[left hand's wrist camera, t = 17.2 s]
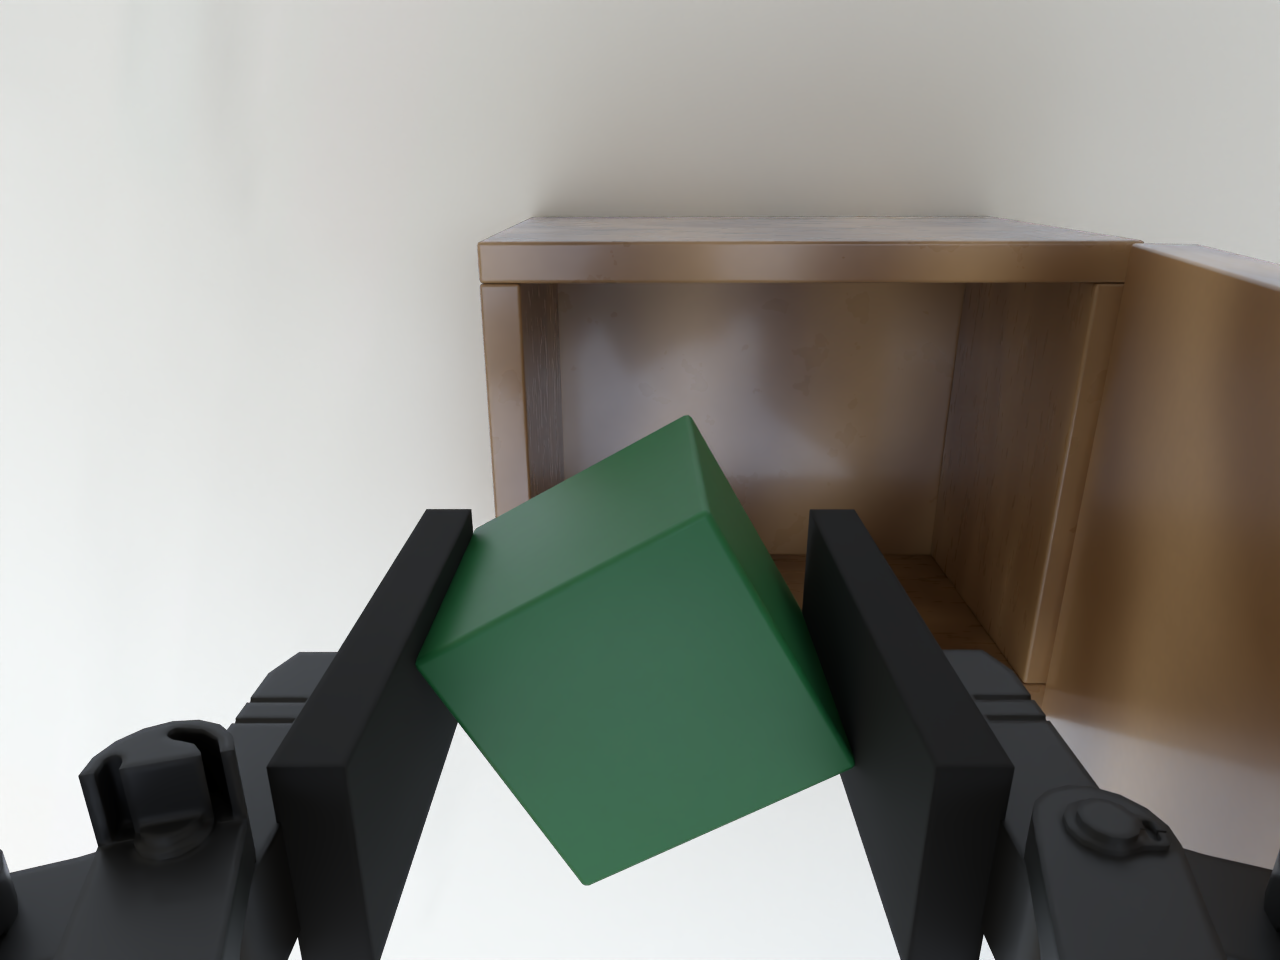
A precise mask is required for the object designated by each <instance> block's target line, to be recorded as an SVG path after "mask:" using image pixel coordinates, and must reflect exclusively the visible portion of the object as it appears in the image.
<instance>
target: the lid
mask: <svg viewBox="0 0 1280 960" xmlns="http://www.w3.org/2000/svg"><path fill="white" fill-rule="evenodd" d="M1041 709H1042V711H1043V712H1044V714H1045V715H1046V720H1047V721H1050V722H1051V723H1052V724H1053V726H1054V727H1055V728H1056V730H1057V731H1058V732H1059V734H1060V735H1061V737H1062V738H1063V739H1064V741H1065V742H1066V743H1067V745H1068V746H1069V747H1070V749H1071V750H1072V751H1073V753H1074V754H1075V756H1076V757H1077V758H1078V760H1079V761H1080V762H1081V764H1082V765H1083V766H1084V768H1085V769H1086V770H1087V772H1088V773H1089V775H1090V776H1091V777H1092V779H1093V780H1094V781H1095V783H1096V784H1097V785H1098V787H1099V788H1100V789H1103V790H1106V791H1110V792H1113V793H1116V794H1120V795H1122V796H1124V797H1126V798H1128V799H1130V800H1132V801H1134V802H1136V803H1138V804H1140V805H1142V806H1144V807H1146V808H1147V809H1149V810H1150V811H1151V812H1152V813H1153V814H1155V815H1156V816H1157V817H1158V818H1160V819H1161V820H1162V821H1163V822H1164V823H1166V824H1167V825H1168V826H1169V827H1170V829H1171V830H1172V832H1173V833H1174V834H1175V836H1176V837H1177V839H1178V840H1179V842H1180V843H1181V845H1182V847H1183V848H1185V849H1188V850H1192V851H1195V852H1198V853H1202V854H1205V855H1209V856H1214V857H1218V858H1223V859H1227V860H1232V861H1236V862H1240V863H1245V864H1249V865H1254V866H1258V867H1262V868H1267V869H1271V870H1273V867H1274V864H1275V861H1276V858H1277V855H1278V852H1279V849H1280V265H1279V264H1275V263H1271V262H1267V261H1263V260H1259V259H1255V258H1251V257H1247V256H1243V255H1239V254H1234V253H1230V252H1226V251H1222V250H1218V249H1214V248H1210V247H1206V246H1202V245H1198V244H1148V243H1135V244H1133V245H1132V246H1131V252H1130V257H1129V262H1128V267H1127V272H1126V277H1125V282H1124V287H1123V293H1122V298H1121V303H1120V308H1119V313H1118V318H1117V323H1116V328H1115V334H1114V339H1113V344H1112V349H1111V354H1110V359H1109V364H1108V369H1107V375H1106V380H1105V385H1104V390H1103V395H1102V400H1101V405H1100V410H1099V416H1098V421H1097V426H1096V431H1095V436H1094V441H1093V446H1092V451H1091V457H1090V462H1089V467H1088V472H1087V477H1086V482H1085V487H1084V493H1083V498H1082V503H1081V508H1080V513H1079V518H1078V523H1077V528H1076V534H1075V539H1074V544H1073V549H1072V554H1071V559H1070V564H1069V569H1068V575H1067V580H1066V585H1065V590H1064V595H1063V600H1062V605H1061V610H1060V616H1059V621H1058V626H1057V631H1056V636H1055V641H1054V646H1053V651H1052V657H1051V662H1050V667H1049V672H1048V677H1047V682H1046V687H1045V692H1044V698H1043V703H1042V708H1041Z"/></svg>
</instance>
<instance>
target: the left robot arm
mask: <svg viewBox="0 0 1280 960" xmlns="http://www.w3.org/2000/svg"><path fill="white" fill-rule="evenodd" d="M472 535H473V526H472V512H471V509H426V511H425V513H424V514H423V516H422V517H421V519H420V521H419V522H418V524H417V525H416V527H415V529H414V530H413V532H412V533H411V535H410V537H409V538H408V540H407V541H406V543H405V545H404V546H403V548H402V550H401V551H400V553H399V554H398V556H397V558H396V559H395V561H394V562H393V564H392V566H391V567H390V569H389V570H388V572H387V574H386V575H385V577H384V578H383V580H382V582H381V583H380V585H379V586H378V588H377V590H376V591H375V593H374V595H373V596H372V598H371V599H370V601H369V603H368V604H367V606H366V607H365V609H364V611H363V612H362V614H361V615H360V617H359V619H358V620H357V622H356V623H355V625H354V627H353V628H352V630H351V631H350V633H349V635H348V636H347V638H346V640H345V641H344V643H343V644H342V646H341V648H340V649H339V651H338V652H299V653H297V654H296V655H294V656H293V657H291V658H290V659H289V660H287V661H286V662H284V663H283V664H281V665H280V666H278V667H277V668H275V669H274V670H273V671H271V672H270V673H268V675H267V676H266V678H265V679H264V680H263V682H262V683H261V684H260V686H259V687H258V688H257V690H256V691H255V693H254V694H253V695H252V697H251V701H250V703H246V705H245V706H244V708H243V709H242V710H241V712H240V713H239V714H238V716H237V717H236V722H235V723H232V724H231V725H230V727H229V728H228V729H227V730H226V729H225V728H224V727H222V726H221V725H220V724H216V723H211V722H207V721H202V720H187V721H172V722H168V723H164V724H160V725H156V726H152V727H148V728H144V729H142V730H140V731H137V732H135V733H133V734H131V735H129V736H126V737H124V738H122V739H120V740H118V741H115V742H114V743H113V744H111V745H110V746H108V747H107V748H106V749H104V750H103V751H101V752H100V753H99V754H97V755H96V756H94V757H93V758H92V759H91V761H90V762H89V763H88V764H87V766H86V767H85V768H84V769H83V771H82V772H81V773H80V775H79V780H80V783H81V787H82V791H83V794H84V798H85V801H86V805H87V808H88V812H89V815H90V819H91V823H92V826H93V830H94V833H95V837H96V840H97V844H98V848H97V851H96V852H95V853H91V854H88V855H84V856H81V857H78V858H74V859H69V860H65V861H60V862H56V863H52V864H47V865H43V866H38V867H34V868H30V869H25V870H21V871H16V872H12V873H9V870H8V867H7V864H6V861H5V858H4V855H3V851H2V850H0V960H288V958H289V955H290V953H291V951H292V949H293V946H294V944H295V942H296V940H297V937H298V940H299V946H300V951H301V956H302V960H380V959H381V955H382V952H383V949H384V946H385V943H386V940H387V937H388V934H389V931H390V928H391V925H392V922H393V919H394V916H395V913H396V910H397V907H398V904H399V900H400V897H401V894H402V891H403V888H404V885H405V882H406V879H407V876H408V873H409V870H410V867H411V864H412V861H413V858H414V855H415V852H416V848H417V845H418V842H419V839H420V836H421V833H422V830H423V827H424V824H425V821H426V818H427V815H428V812H429V809H430V806H431V803H432V800H433V797H434V793H435V790H436V787H437V784H438V781H439V778H440V775H441V772H442V769H443V766H444V763H445V760H446V757H447V754H448V751H449V748H450V745H451V742H452V738H453V735H454V732H455V729H456V726H457V723H458V721H457V720H456V719H455V718H454V716H453V715H452V714H451V712H450V711H449V710H448V708H447V707H446V706H445V705H444V703H443V702H442V701H441V699H440V698H439V697H438V695H437V694H436V693H435V692H434V690H433V689H432V688H431V686H430V685H429V684H428V682H427V681H426V680H425V679H424V677H423V676H422V675H421V673H420V672H419V671H418V669H417V668H416V665H415V663H416V659H417V657H418V655H419V652H420V650H421V648H422V646H423V644H424V641H425V639H426V637H427V635H428V633H429V630H430V628H431V626H432V624H433V622H434V619H435V617H436V615H437V613H438V610H439V608H440V606H441V604H442V602H443V599H444V597H445V595H446V593H447V591H448V588H449V586H450V584H451V582H452V580H453V577H454V575H455V573H456V571H457V569H458V566H459V564H460V562H461V560H462V558H463V555H464V553H465V551H466V549H467V546H468V544H469V542H470V540H471V538H472ZM802 614H803V617H804V620H805V622H806V625H807V628H808V631H809V633H810V636H811V639H812V642H813V644H814V647H815V650H816V653H817V655H818V658H819V661H820V664H821V667H822V669H823V672H824V675H825V678H826V680H827V683H828V686H829V689H830V691H831V694H832V697H833V700H834V702H835V705H836V708H837V711H838V714H839V716H840V719H841V722H842V725H843V727H844V730H845V733H846V736H847V738H848V741H849V744H850V747H851V749H852V752H853V755H854V759H855V766H854V767H853V768H852V769H849V770H847V771H845V772H843V773H840V776H841V779H842V782H843V785H844V788H845V791H846V794H847V797H848V800H849V803H850V806H851V809H852V812H853V815H854V818H855V821H856V824H857V827H858V831H859V834H860V837H861V840H862V843H863V846H864V849H865V852H866V855H867V858H868V861H869V864H870V867H871V870H872V873H873V876H874V879H875V882H876V885H877V889H878V892H879V895H880V898H881V901H882V904H883V907H884V910H885V913H886V916H887V919H888V922H889V925H890V928H891V931H892V934H893V937H894V940H895V944H896V947H897V950H898V953H899V956H900V959H901V960H979V956H980V951H981V945H982V940H983V935H984V936H985V938H986V940H987V942H988V945H989V947H990V949H991V951H992V954H993V956H994V958H995V960H1280V849H1279V852H1278V855H1277V858H1276V861H1275V864H1274V867H1273V870H1271V869H1267V868H1262V867H1258V866H1254V865H1249V864H1245V863H1240V862H1236V861H1232V860H1227V859H1223V858H1218V857H1214V856H1209V855H1205V854H1202V853H1198V852H1195V851H1192V850H1188V849H1185V848H1183V847H1182V845H1181V843H1180V842H1179V840H1178V839H1177V837H1176V836H1175V834H1174V833H1173V832H1172V830H1171V829H1170V827H1169V826H1168V825H1167V824H1166V823H1164V822H1163V821H1162V820H1161V819H1160V818H1158V817H1157V816H1156V815H1155V814H1153V813H1152V812H1151V811H1150V810H1149V809H1147V808H1146V807H1144V806H1142V805H1140V804H1138V803H1136V802H1134V801H1132V800H1130V799H1128V798H1126V797H1124V796H1122V795H1120V794H1116V793H1113V792H1110V791H1106V790H1103V789H1100V788H1099V787H1098V785H1097V784H1096V783H1095V781H1094V780H1093V779H1092V777H1091V776H1090V775H1089V773H1088V772H1087V770H1086V769H1085V768H1084V766H1083V765H1082V764H1081V762H1080V761H1079V760H1078V758H1077V757H1076V756H1075V754H1074V753H1073V751H1072V750H1071V749H1070V747H1069V746H1068V745H1067V743H1066V742H1065V741H1064V739H1063V738H1062V737H1061V735H1060V734H1059V732H1058V731H1057V730H1056V728H1055V727H1054V726H1053V724H1052V723H1051V722H1050V721H1047V720H1046V715H1045V714H1044V712H1043V711H1042V709H1041V708H1040V707H1039V705H1038V704H1037V703H1036V701H1035V700H1031V695H1030V693H1029V692H1028V690H1027V689H1026V688H1025V686H1024V685H1023V684H1022V682H1021V681H1020V680H1019V678H1018V677H1017V676H1016V674H1015V673H1014V672H1013V670H1011V669H1010V668H1008V667H1007V666H1005V665H1004V664H1002V663H1001V662H1000V661H998V660H997V659H995V658H994V657H992V656H991V655H989V654H988V653H986V652H985V651H984V650H942V649H941V648H940V646H939V644H938V643H937V641H936V640H935V638H934V636H933V635H932V633H931V632H930V630H929V628H928V627H927V625H926V624H925V622H924V620H923V619H922V617H921V615H920V614H919V612H918V611H917V609H916V607H915V606H914V604H913V603H912V601H911V599H910V598H909V596H908V595H907V593H906V591H905V590H904V588H903V587H902V585H901V583H900V582H899V580H898V579H897V577H896V575H895V574H894V572H893V571H892V569H891V567H890V566H889V564H888V562H887V561H886V559H885V558H884V556H883V554H882V553H881V551H880V550H879V548H878V546H877V545H876V543H875V542H874V540H873V538H872V537H871V535H870V534H869V532H868V530H867V529H866V527H865V526H864V524H863V522H862V521H861V519H860V518H859V516H858V514H857V513H856V511H855V509H810V511H809V525H808V538H807V551H806V565H805V578H804V591H803V605H802Z"/></svg>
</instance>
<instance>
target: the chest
mask: <svg viewBox="0 0 1280 960" xmlns="http://www.w3.org/2000/svg"><path fill="white" fill-rule="evenodd" d="M1135 243H1144V242H1143V241H1141V240H1135V239H1129V238H1123V237H1116V236H1110V235H1104V234H1097V233H1091V232H1085V231H1078V230H1072V229H1066V228H1059V227H1053V226H1047V225H1040V224H1034V223H1028V222H1021V221H1015V220H1009V219H1002V218H996V217H532V218H530V219H527V220H525V221H523V222H521V223H519V224H517V225H515V226H512V227H510V228H508V229H506V230H504V231H502V232H500V233H498V234H495V235H493V236H491V237H489V238H487V239H485V240H483V241H481V242H478V245H477V250H478V265H479V280H480V282H481V283H482V284H481V285H480V296H481V311H482V326H483V341H484V355H485V370H486V385H487V400H488V414H489V429H490V444H491V459H492V473H493V488H494V503H495V518H497V517H498V516H500V515H502V514H504V513H506V512H508V511H510V510H511V509H513V508H515V507H517V506H519V505H521V504H522V503H524V502H526V501H528V500H530V499H532V498H533V497H535V496H537V495H539V494H541V493H543V492H544V491H546V490H548V489H550V488H552V487H554V486H555V485H557V484H559V483H561V482H563V481H565V480H567V479H568V478H570V477H572V476H574V475H576V474H578V473H579V472H581V471H583V470H585V469H587V468H589V467H590V466H592V465H594V464H596V463H598V462H600V461H601V460H603V459H605V458H607V457H609V456H611V455H612V454H614V453H616V452H618V451H620V450H622V449H624V448H625V447H627V446H629V445H631V444H633V443H635V442H636V441H638V440H640V439H642V438H644V437H646V436H647V435H649V434H651V433H653V432H655V431H657V430H658V429H660V428H662V427H664V426H666V425H668V424H669V423H671V422H673V421H675V420H677V419H679V418H681V417H682V416H685V415H689V416H690V417H692V419H693V421H694V422H695V424H696V426H697V428H698V429H699V431H700V433H701V435H702V436H703V438H704V440H705V442H706V443H707V445H708V447H709V449H710V450H711V452H712V454H713V456H714V457H715V459H716V461H717V463H718V464H719V466H720V468H721V470H722V471H723V473H724V475H725V477H726V478H727V480H728V482H729V484H730V485H731V487H732V489H733V491H734V493H735V494H736V496H737V498H738V500H739V501H740V503H741V505H742V507H743V508H744V510H745V512H746V514H747V515H748V517H749V519H750V521H751V522H752V524H753V526H754V528H755V529H756V531H757V533H758V535H759V536H760V538H761V540H762V542H763V543H764V545H765V547H766V549H767V550H768V552H769V554H770V556H771V557H772V559H773V561H774V563H775V565H776V566H777V568H778V570H779V572H780V573H781V575H782V577H783V579H784V580H785V582H786V584H787V586H788V587H789V589H790V591H791V593H792V594H793V596H794V598H795V600H796V601H797V603H798V605H799V607H800V608H801V611H802V605H803V591H804V578H805V565H806V551H807V538H808V525H809V511H810V509H855V511H856V513H857V514H858V516H859V518H860V519H861V521H862V522H863V524H864V526H865V527H866V529H867V530H868V532H869V534H870V535H871V537H872V538H873V540H874V542H875V543H876V545H877V546H878V548H879V550H880V551H881V553H882V554H883V556H884V558H885V559H886V561H887V562H888V564H889V566H890V567H891V569H892V571H893V572H894V574H895V575H896V577H897V579H898V580H899V582H900V583H901V585H902V587H903V588H904V590H905V591H906V593H907V595H908V596H909V598H910V599H911V601H912V603H913V604H914V606H915V607H916V609H917V611H918V612H919V614H920V615H921V617H922V619H923V620H924V622H925V624H926V625H927V627H928V628H929V630H930V632H931V633H932V635H933V636H934V638H935V640H936V641H937V643H938V644H939V646H940V648H941V649H942V650H984V651H985V652H986V653H988V654H989V655H991V656H992V657H994V658H995V659H997V660H998V661H1000V662H1001V663H1002V664H1004V665H1005V666H1007V667H1008V668H1010V669H1011V670H1013V672H1014V673H1015V674H1016V676H1017V677H1018V678H1019V680H1020V681H1021V682H1022V684H1023V685H1024V686H1025V688H1026V689H1027V690H1028V692H1029V693H1030V695H1031V700H1035V701H1036V703H1037V704H1038V705H1039V707H1040V708H1042V703H1043V698H1044V692H1045V687H1046V682H1047V677H1048V672H1049V667H1050V662H1051V657H1052V651H1053V646H1054V641H1055V636H1056V631H1057V626H1058V621H1059V616H1060V610H1061V605H1062V600H1063V595H1064V590H1065V585H1066V580H1067V575H1068V569H1069V564H1070V559H1071V554H1072V549H1073V544H1074V539H1075V534H1076V528H1077V523H1078V518H1079V513H1080V508H1081V503H1082V498H1083V493H1084V487H1085V482H1086V477H1087V472H1088V467H1089V462H1090V457H1091V451H1092V446H1093V441H1094V436H1095V431H1096V426H1097V421H1098V416H1099V410H1100V405H1101V400H1102V395H1103V390H1104V385H1105V380H1106V375H1107V369H1108V364H1109V359H1110V354H1111V349H1112V344H1113V339H1114V334H1115V328H1116V323H1117V318H1118V313H1119V308H1120V303H1121V298H1122V293H1123V287H1124V282H1125V277H1126V272H1127V267H1128V262H1129V257H1130V252H1131V246H1132V245H1133V244H1135Z"/></svg>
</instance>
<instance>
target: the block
mask: <svg viewBox="0 0 1280 960" xmlns="http://www.w3.org/2000/svg"><path fill="white" fill-rule="evenodd" d="M415 665H416V668H417V669H418V671H419V672H420V673H421V675H422V676H423V677H424V679H425V680H426V681H427V682H428V684H429V685H430V686H431V688H432V689H433V690H434V692H435V693H436V694H437V695H438V697H439V698H440V699H441V701H442V702H443V703H444V705H445V706H446V707H447V708H448V710H449V711H450V712H451V714H452V715H453V716H454V718H455V719H456V720H457V721H458V723H459V724H460V725H461V727H462V728H463V729H464V731H465V732H466V733H467V734H468V736H469V737H470V738H471V740H472V741H473V742H474V744H475V745H476V746H477V747H478V749H479V750H480V751H481V753H482V754H483V755H484V757H485V758H486V759H487V760H488V762H489V763H490V764H491V766H492V767H493V768H494V770H495V771H496V772H497V773H498V775H499V776H500V777H501V779H502V780H503V781H504V783H505V784H506V785H507V787H508V788H509V789H510V790H511V792H512V793H513V794H514V796H515V797H516V798H517V800H518V801H519V802H520V803H521V805H522V806H523V807H524V809H525V810H526V811H527V813H528V814H529V815H530V816H531V818H532V819H533V820H534V822H535V823H536V824H537V826H538V827H539V828H540V829H541V831H542V832H543V833H544V835H545V836H546V837H547V839H548V840H549V841H550V842H551V844H552V845H553V846H554V848H555V849H556V850H557V852H558V853H559V854H560V855H561V857H562V858H563V859H564V861H565V862H566V863H567V865H568V866H569V867H570V868H571V870H572V871H573V872H574V874H575V875H576V876H577V878H578V879H579V880H580V881H581V883H582V884H583V885H591V884H593V883H595V882H597V881H600V880H602V879H604V878H606V877H609V876H611V875H613V874H615V873H618V872H620V871H622V870H624V869H627V868H629V867H631V866H633V865H636V864H638V863H640V862H642V861H645V860H647V859H649V858H651V857H654V856H656V855H658V854H660V853H663V852H665V851H667V850H669V849H672V848H674V847H676V846H678V845H681V844H683V843H685V842H687V841H690V840H692V839H694V838H696V837H699V836H701V835H703V834H705V833H708V832H710V831H712V830H714V829H717V828H719V827H721V826H723V825H726V824H728V823H730V822H732V821H735V820H737V819H739V818H741V817H744V816H746V815H748V814H750V813H753V812H755V811H757V810H759V809H762V808H764V807H766V806H768V805H771V804H773V803H775V802H777V801H780V800H782V799H784V798H786V797H789V796H791V795H793V794H795V793H798V792H800V791H802V790H804V789H807V788H809V787H811V786H813V785H816V784H818V783H820V782H822V781H825V780H827V779H829V778H831V777H834V776H836V775H838V774H840V773H843V772H845V771H847V770H849V769H852V768H853V767H854V766H855V759H854V755H853V752H852V749H851V747H850V744H849V741H848V738H847V736H846V733H845V730H844V727H843V725H842V722H841V719H840V716H839V714H838V711H837V708H836V705H835V702H834V700H833V697H832V694H831V691H830V689H829V686H828V683H827V680H826V678H825V675H824V672H823V669H822V667H821V664H820V661H819V658H818V655H817V653H816V650H815V647H814V644H813V642H812V639H811V636H810V633H809V631H808V628H807V625H806V622H805V620H804V617H803V614H802V611H801V608H800V607H799V605H798V603H797V601H796V600H795V598H794V596H793V594H792V593H791V591H790V589H789V587H788V586H787V584H786V582H785V580H784V579H783V577H782V575H781V573H780V572H779V570H778V568H777V566H776V565H775V563H774V561H773V559H772V557H771V556H770V554H769V552H768V550H767V549H766V547H765V545H764V543H763V542H762V540H761V538H760V536H759V535H758V533H757V531H756V529H755V528H754V526H753V524H752V522H751V521H750V519H749V517H748V515H747V514H746V512H745V510H744V508H743V507H742V505H741V503H740V501H739V500H738V498H737V496H736V494H735V493H734V491H733V489H732V487H731V485H730V484H729V482H728V480H727V478H726V477H725V475H724V473H723V471H722V470H721V468H720V466H719V464H718V463H717V461H716V459H715V457H714V456H713V454H712V452H711V450H710V449H709V447H708V445H707V443H706V442H705V440H704V438H703V436H702V435H701V433H700V431H699V429H698V428H697V426H696V424H695V422H694V421H693V419H692V417H690V416H689V415H685V416H682V417H681V418H679V419H677V420H675V421H673V422H671V423H669V424H668V425H666V426H664V427H662V428H660V429H658V430H657V431H655V432H653V433H651V434H649V435H647V436H646V437H644V438H642V439H640V440H638V441H636V442H635V443H633V444H631V445H629V446H627V447H625V448H624V449H622V450H620V451H618V452H616V453H614V454H612V455H611V456H609V457H607V458H605V459H603V460H601V461H600V462H598V463H596V464H594V465H592V466H590V467H589V468H587V469H585V470H583V471H581V472H579V473H578V474H576V475H574V476H572V477H570V478H568V479H567V480H565V481H563V482H561V483H559V484H557V485H555V486H554V487H552V488H550V489H548V490H546V491H544V492H543V493H541V494H539V495H537V496H535V497H533V498H532V499H530V500H528V501H526V502H524V503H522V504H521V505H519V506H517V507H515V508H513V509H511V510H510V511H508V512H506V513H504V514H502V515H500V516H498V517H497V518H495V519H493V520H491V521H489V522H487V523H486V524H484V525H482V526H480V527H478V528H476V530H475V531H474V532H473V535H472V538H471V540H470V542H469V544H468V546H467V549H466V551H465V553H464V555H463V558H462V560H461V562H460V564H459V566H458V569H457V571H456V573H455V575H454V577H453V580H452V582H451V584H450V586H449V588H448V591H447V593H446V595H445V597H444V599H443V602H442V604H441V606H440V608H439V610H438V613H437V615H436V617H435V619H434V622H433V624H432V626H431V628H430V630H429V633H428V635H427V637H426V639H425V641H424V644H423V646H422V648H421V650H420V652H419V655H418V657H417V659H416V663H415Z"/></svg>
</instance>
